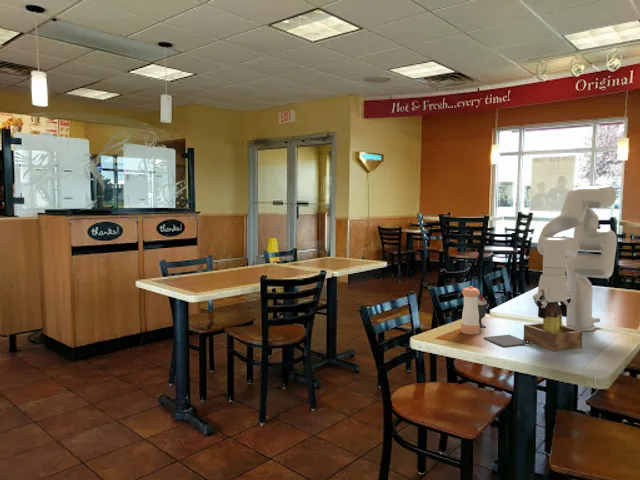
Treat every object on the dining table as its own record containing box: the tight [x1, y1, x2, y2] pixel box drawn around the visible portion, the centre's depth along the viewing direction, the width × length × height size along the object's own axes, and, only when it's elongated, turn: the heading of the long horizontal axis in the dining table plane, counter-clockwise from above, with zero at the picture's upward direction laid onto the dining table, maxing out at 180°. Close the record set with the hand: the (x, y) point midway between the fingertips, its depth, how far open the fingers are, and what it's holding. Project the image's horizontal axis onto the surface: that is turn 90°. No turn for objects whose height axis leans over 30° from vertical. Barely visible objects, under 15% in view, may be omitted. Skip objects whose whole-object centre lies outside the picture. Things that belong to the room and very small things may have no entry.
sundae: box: [478, 292, 489, 329], centre depth 205 cm, size 7×7×15 cm
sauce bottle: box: [542, 302, 563, 334], centre depth 180 cm, size 7×6×20 cm
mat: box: [482, 334, 532, 348], centre depth 184 cm, size 12×12×1 cm
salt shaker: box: [460, 285, 481, 335], centre depth 197 cm, size 7×7×19 cm
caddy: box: [523, 322, 583, 352], centre depth 180 cm, size 13×15×6 cm
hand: (552, 317), depth 179 cm, fingers open, 9 cm apart
